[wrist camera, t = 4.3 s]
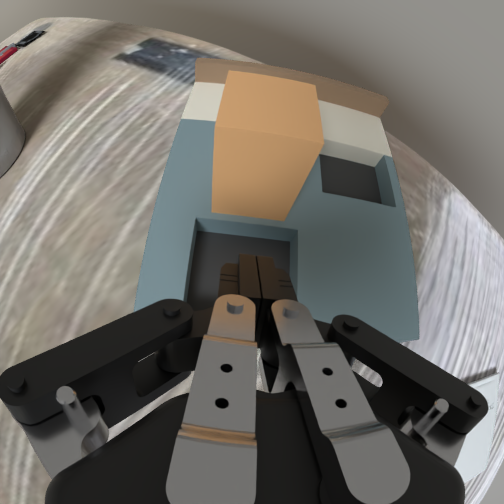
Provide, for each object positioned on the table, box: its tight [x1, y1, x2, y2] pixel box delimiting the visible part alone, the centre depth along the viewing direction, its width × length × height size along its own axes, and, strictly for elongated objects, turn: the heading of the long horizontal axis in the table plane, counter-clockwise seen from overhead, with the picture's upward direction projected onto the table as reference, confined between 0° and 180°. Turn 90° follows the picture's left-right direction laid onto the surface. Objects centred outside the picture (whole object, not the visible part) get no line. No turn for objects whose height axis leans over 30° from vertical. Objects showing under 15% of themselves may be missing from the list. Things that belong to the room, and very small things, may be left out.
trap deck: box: [134, 58, 419, 343], centre depth 21 cm, size 20×24×5 cm
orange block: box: [211, 70, 324, 221], centre depth 16 cm, size 5×5×8 cm
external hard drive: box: [454, 373, 500, 483], centre depth 17 cm, size 2×8×12 cm
